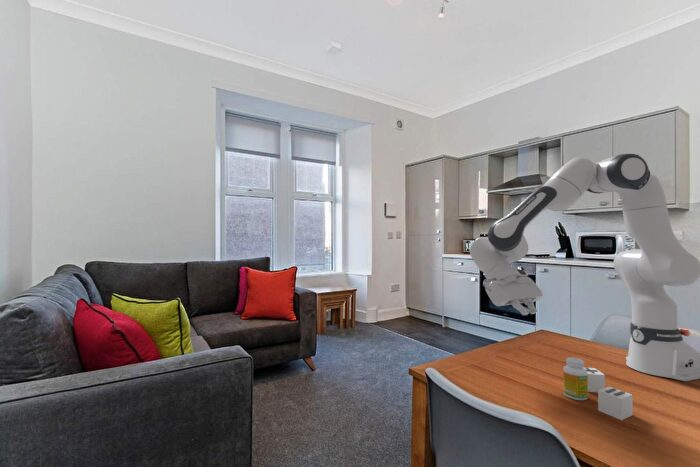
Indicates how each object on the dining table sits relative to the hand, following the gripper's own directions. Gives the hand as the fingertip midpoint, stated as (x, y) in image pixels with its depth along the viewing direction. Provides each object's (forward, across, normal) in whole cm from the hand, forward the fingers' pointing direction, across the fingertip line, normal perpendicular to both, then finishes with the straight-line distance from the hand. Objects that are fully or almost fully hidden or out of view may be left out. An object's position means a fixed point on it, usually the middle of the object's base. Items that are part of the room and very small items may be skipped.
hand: (530, 313), depth 103 cm
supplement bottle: (+23, 0, +5) cm, 24 cm away
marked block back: (+22, +9, +6) cm, 25 cm away
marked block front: (+30, 0, -2) cm, 30 cm away
